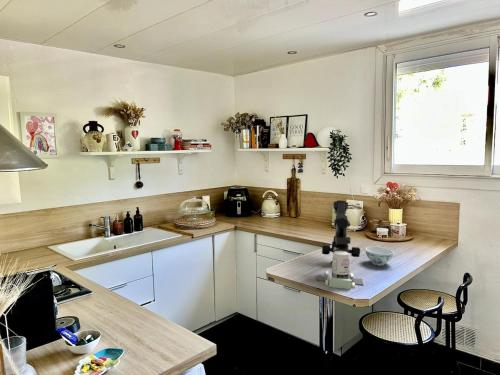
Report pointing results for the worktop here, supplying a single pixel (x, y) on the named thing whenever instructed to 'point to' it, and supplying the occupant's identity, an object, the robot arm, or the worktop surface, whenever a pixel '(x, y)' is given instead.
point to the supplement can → (341, 265)
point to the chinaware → (379, 255)
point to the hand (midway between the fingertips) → (340, 266)
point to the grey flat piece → (340, 281)
